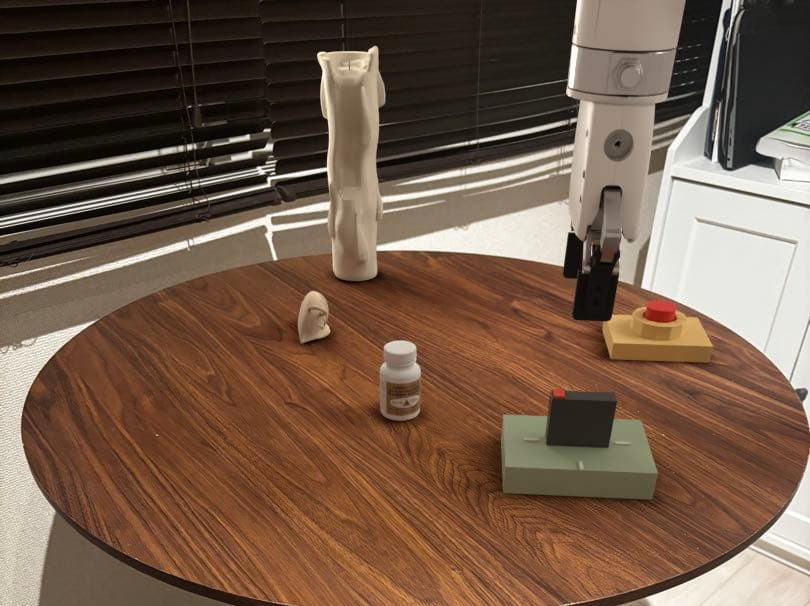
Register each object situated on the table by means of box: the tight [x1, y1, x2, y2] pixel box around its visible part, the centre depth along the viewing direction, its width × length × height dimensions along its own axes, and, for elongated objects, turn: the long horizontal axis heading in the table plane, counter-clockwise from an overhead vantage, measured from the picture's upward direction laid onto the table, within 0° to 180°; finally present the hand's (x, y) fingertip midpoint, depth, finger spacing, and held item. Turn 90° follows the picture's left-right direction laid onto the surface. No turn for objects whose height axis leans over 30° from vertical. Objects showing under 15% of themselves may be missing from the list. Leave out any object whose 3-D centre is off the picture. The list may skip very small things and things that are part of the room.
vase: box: [316, 45, 386, 282], centre depth 114 cm, size 9×8×30 cm
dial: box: [545, 388, 618, 447], centre depth 77 cm, size 6×2×5 cm, turn 86°
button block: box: [601, 305, 714, 364], centre depth 102 cm, size 12×9×4 cm
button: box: [645, 300, 678, 323], centre depth 101 cm, size 4×4×2 cm
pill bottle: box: [379, 340, 422, 422], centre depth 87 cm, size 4×4×8 cm
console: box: [500, 414, 659, 501], centre depth 80 cm, size 14×10×3 cm
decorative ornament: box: [297, 290, 331, 344], centre depth 104 cm, size 4×8×5 cm, turn 7°
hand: (585, 297), depth 71 cm, fingers open, 9 cm apart
